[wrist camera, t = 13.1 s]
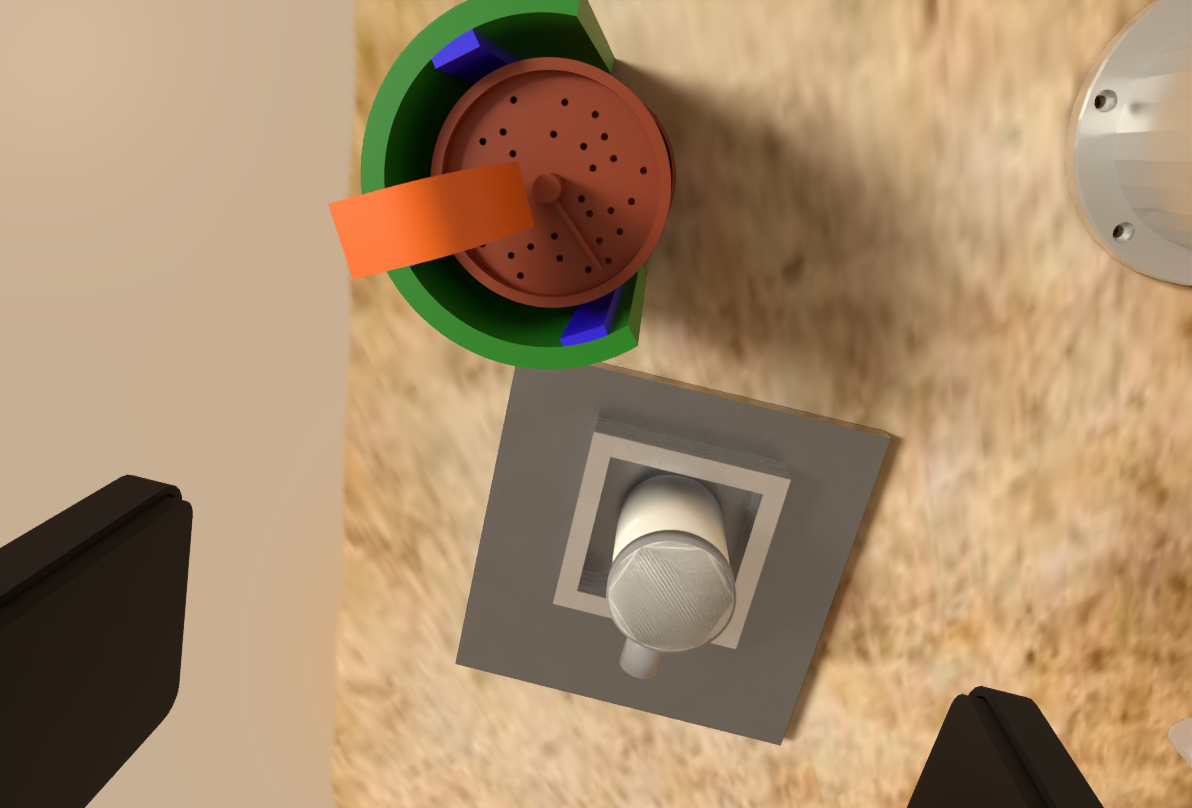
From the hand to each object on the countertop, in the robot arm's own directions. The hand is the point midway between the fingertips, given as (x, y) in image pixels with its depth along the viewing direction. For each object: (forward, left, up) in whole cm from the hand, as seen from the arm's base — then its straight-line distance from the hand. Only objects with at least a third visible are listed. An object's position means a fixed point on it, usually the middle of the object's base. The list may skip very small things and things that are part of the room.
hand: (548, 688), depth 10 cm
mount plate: (-4, +13, -30) cm, 33 cm away
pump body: (-4, +12, -29) cm, 32 cm away
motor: (+4, -4, -31) cm, 31 cm away
